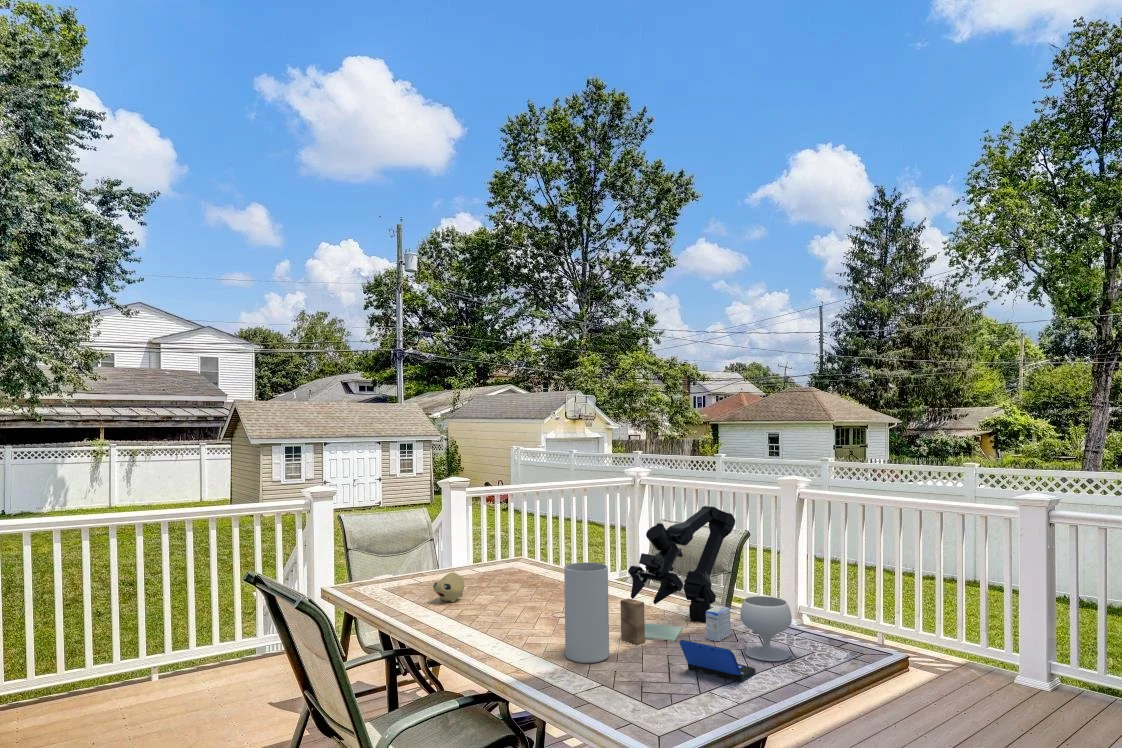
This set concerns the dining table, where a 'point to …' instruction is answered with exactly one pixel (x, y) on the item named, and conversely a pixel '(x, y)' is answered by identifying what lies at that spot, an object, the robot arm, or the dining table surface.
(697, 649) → the handheld game console
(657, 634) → the mat
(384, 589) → the dining table surface
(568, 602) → the cylinder vase
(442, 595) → the olive toy creature
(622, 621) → the walnut slab
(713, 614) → the medicine box
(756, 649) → the chalice
